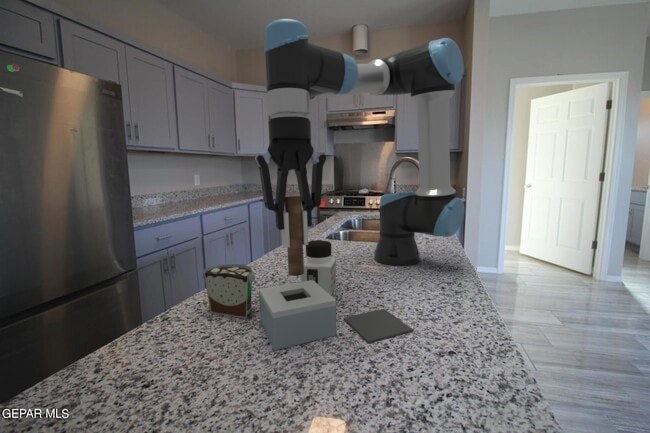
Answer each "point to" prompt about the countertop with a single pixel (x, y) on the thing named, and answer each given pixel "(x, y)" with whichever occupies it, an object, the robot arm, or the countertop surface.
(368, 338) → the pad
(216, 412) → the countertop surface
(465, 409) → the countertop surface
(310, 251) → the container
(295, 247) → the stylus
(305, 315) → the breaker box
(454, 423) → the countertop surface
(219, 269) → the food container
